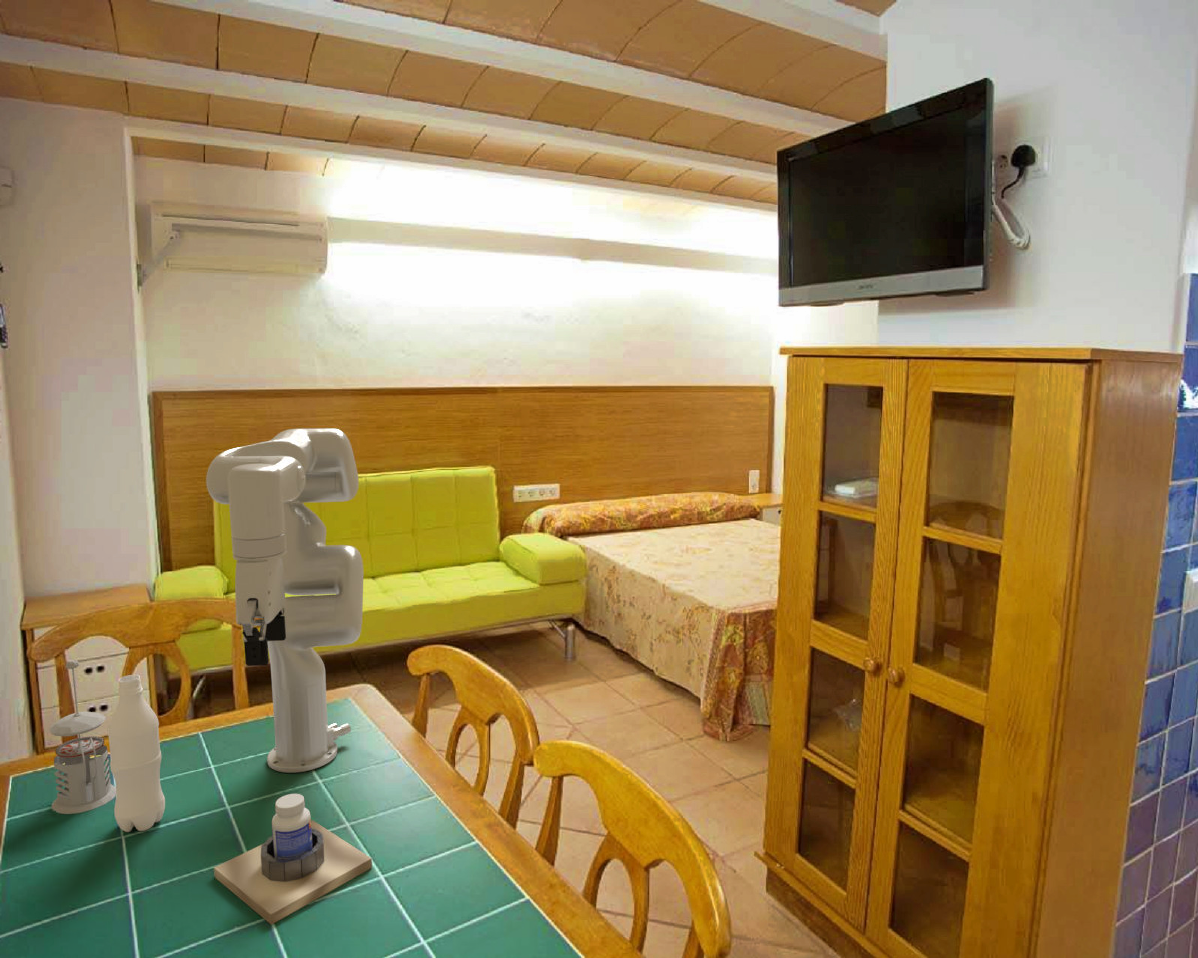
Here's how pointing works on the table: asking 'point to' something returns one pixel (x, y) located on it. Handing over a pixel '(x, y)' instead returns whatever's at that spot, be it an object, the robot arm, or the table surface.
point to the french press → (81, 762)
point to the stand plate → (290, 896)
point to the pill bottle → (291, 827)
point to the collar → (292, 861)
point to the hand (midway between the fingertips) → (266, 651)
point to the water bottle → (135, 758)
